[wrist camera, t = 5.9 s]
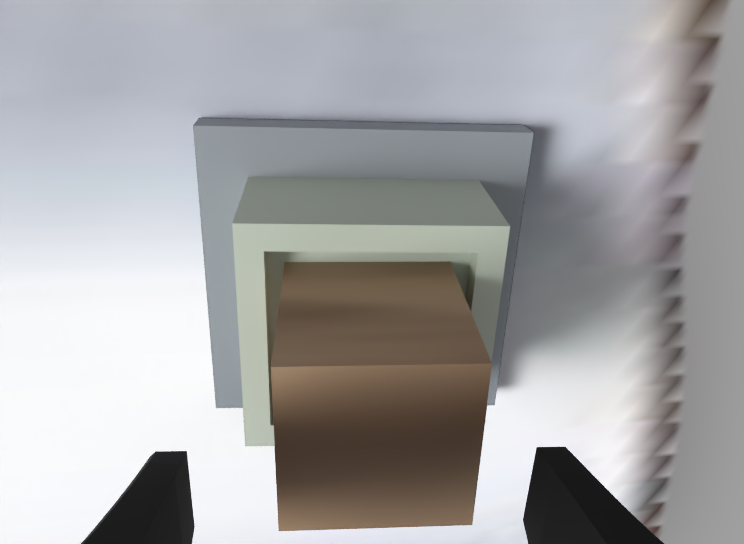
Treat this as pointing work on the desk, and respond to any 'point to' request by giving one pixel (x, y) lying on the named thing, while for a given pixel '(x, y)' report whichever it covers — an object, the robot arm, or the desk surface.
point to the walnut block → (376, 396)
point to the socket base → (348, 224)
